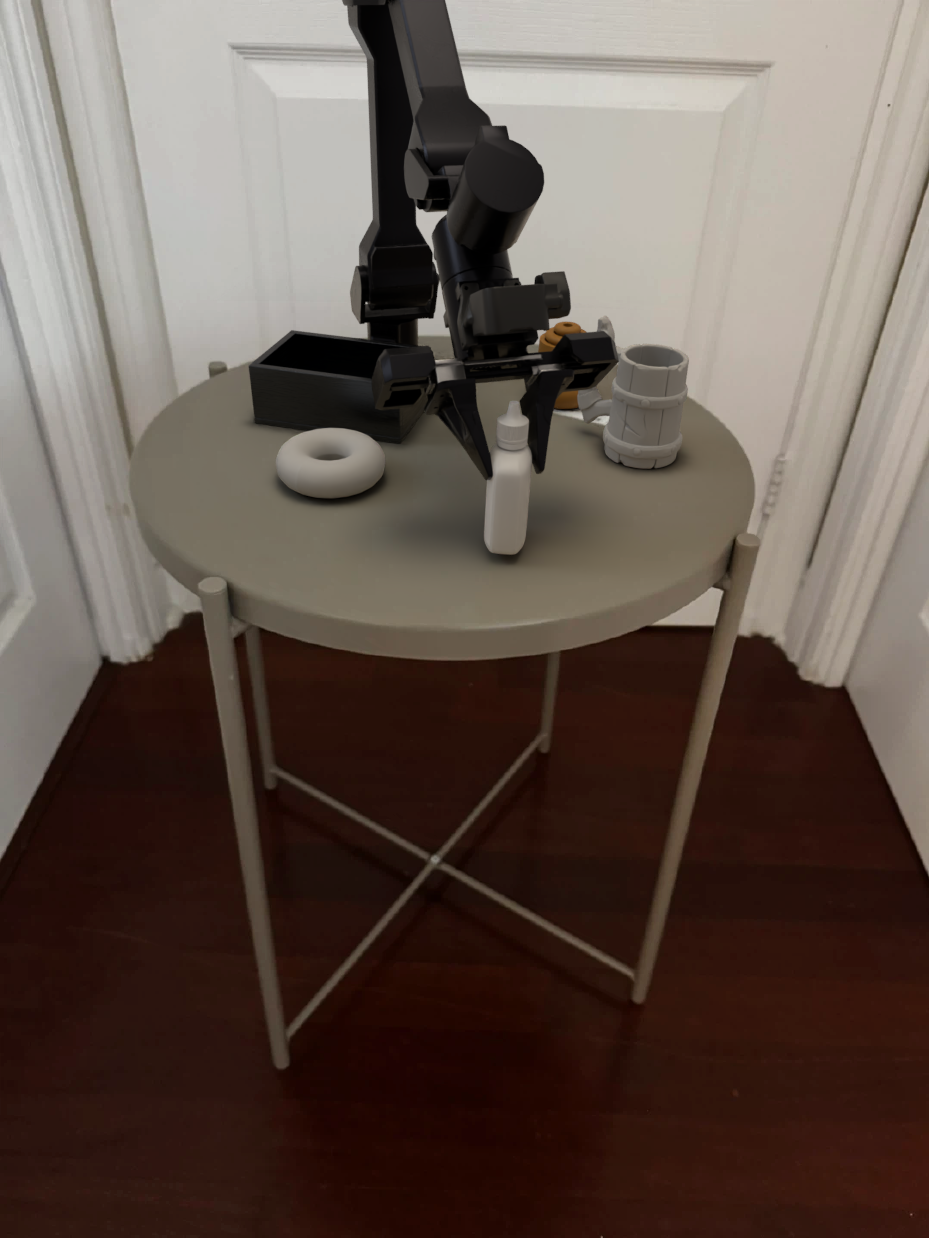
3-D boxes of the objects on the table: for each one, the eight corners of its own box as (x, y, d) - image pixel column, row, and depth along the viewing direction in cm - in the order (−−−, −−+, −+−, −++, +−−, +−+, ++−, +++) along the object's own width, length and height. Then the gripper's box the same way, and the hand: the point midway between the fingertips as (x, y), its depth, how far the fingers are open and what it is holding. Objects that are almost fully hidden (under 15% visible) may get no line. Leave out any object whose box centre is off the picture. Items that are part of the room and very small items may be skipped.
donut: (398, 462, 90) (298, 448, 91) (398, 428, 88) (296, 415, 89) (368, 513, 82) (260, 497, 83) (367, 478, 80) (256, 462, 81)
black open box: (296, 384, 104) (291, 330, 100) (431, 402, 101) (431, 347, 97) (254, 423, 96) (248, 365, 92) (400, 444, 93) (399, 385, 89)
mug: (652, 479, 88) (672, 355, 81) (552, 440, 94) (562, 321, 87) (694, 452, 93) (716, 333, 86) (596, 417, 99) (609, 303, 92)
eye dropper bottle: (463, 544, 76) (469, 407, 69) (500, 516, 80) (509, 383, 73) (509, 562, 74) (519, 423, 67) (544, 532, 78) (558, 397, 71)
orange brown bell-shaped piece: (609, 401, 102) (557, 417, 99) (564, 379, 107) (513, 393, 103) (618, 329, 97) (564, 342, 94) (571, 309, 102) (517, 321, 99)
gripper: (375, 236, 64) (415, 456, 62) (625, 223, 68) (669, 427, 67) (356, 312, 75) (390, 501, 73) (574, 296, 79) (610, 473, 78)
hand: (514, 475), depth 72 cm, fingers closed on eye dropper bottle, 4 cm apart
